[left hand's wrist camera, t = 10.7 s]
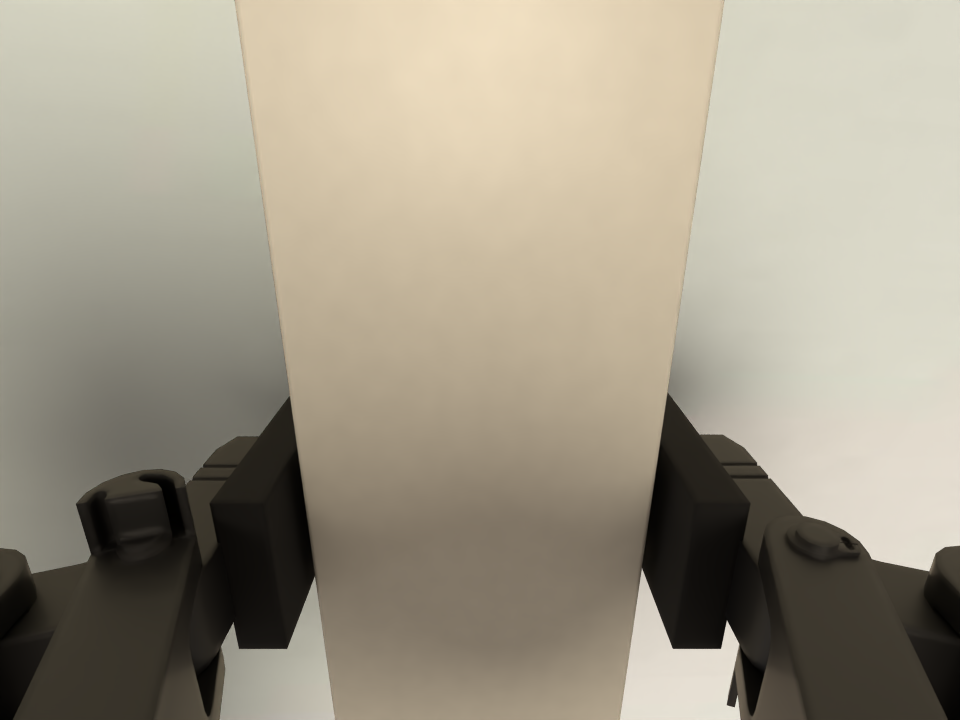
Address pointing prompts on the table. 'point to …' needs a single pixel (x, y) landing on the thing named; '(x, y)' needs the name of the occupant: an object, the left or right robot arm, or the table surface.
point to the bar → (478, 328)
